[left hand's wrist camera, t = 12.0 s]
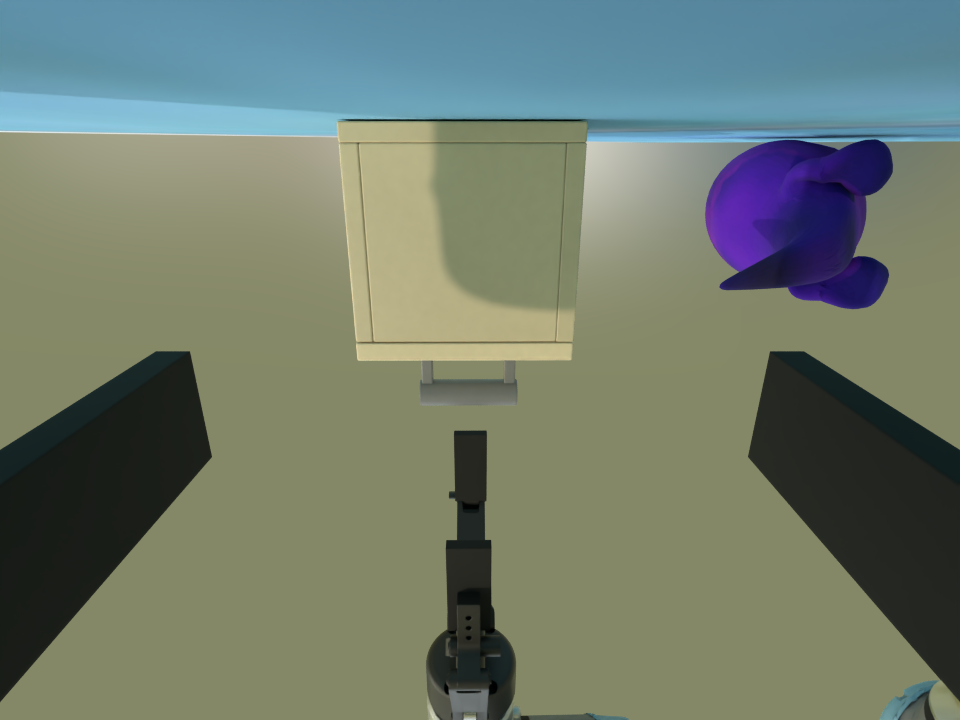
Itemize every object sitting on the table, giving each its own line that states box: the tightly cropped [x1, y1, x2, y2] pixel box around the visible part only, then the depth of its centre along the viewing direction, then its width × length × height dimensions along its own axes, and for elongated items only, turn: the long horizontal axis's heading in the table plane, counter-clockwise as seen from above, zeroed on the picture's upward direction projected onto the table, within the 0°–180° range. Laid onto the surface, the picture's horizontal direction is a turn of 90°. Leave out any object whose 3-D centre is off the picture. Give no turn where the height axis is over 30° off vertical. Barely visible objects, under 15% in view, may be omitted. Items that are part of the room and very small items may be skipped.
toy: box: [705, 139, 893, 309], centre depth 57 cm, size 16×18×27 cm
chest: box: [337, 121, 588, 342], centre depth 28 cm, size 13×10×9 cm
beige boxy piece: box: [356, 340, 573, 405], centre depth 32 cm, size 14×10×8 cm
